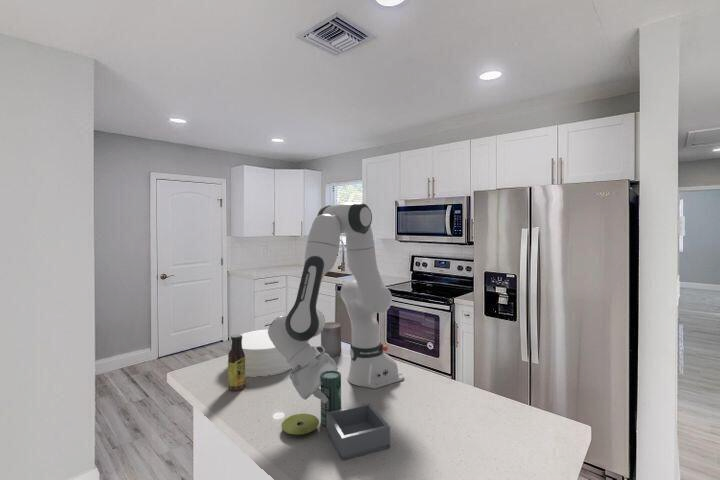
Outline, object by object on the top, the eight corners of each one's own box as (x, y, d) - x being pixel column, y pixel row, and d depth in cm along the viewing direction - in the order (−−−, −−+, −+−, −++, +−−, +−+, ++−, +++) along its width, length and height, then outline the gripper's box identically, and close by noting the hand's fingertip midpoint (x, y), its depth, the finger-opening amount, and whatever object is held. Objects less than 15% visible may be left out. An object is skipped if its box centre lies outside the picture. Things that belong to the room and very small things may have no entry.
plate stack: (308, 364, 158) (308, 338, 158) (249, 383, 139) (249, 354, 139) (276, 348, 179) (276, 325, 178) (220, 363, 160) (220, 338, 159)
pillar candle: (334, 348, 178) (333, 318, 178) (345, 353, 170) (344, 322, 170) (317, 352, 173) (316, 321, 172) (327, 358, 165) (326, 326, 164)
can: (344, 421, 112) (344, 374, 111) (329, 429, 108) (329, 380, 107) (332, 413, 116) (331, 368, 116) (317, 421, 112) (317, 374, 111)
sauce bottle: (240, 392, 132) (239, 339, 131) (224, 390, 133) (223, 338, 132) (249, 384, 138) (248, 333, 137) (234, 383, 139) (233, 332, 138)
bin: (369, 421, 112) (369, 403, 111) (389, 447, 99) (389, 426, 98) (326, 431, 106) (326, 412, 106) (342, 460, 93) (341, 438, 93)
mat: (326, 430, 107) (326, 424, 107) (292, 445, 100) (292, 438, 100) (307, 415, 115) (307, 409, 115) (274, 428, 108) (274, 421, 108)
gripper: (293, 367, 104) (324, 405, 101) (324, 344, 123) (351, 376, 120) (280, 379, 105) (310, 418, 103) (313, 355, 125) (339, 387, 122)
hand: (332, 395), depth 111 cm, fingers closed on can, 6 cm apart
